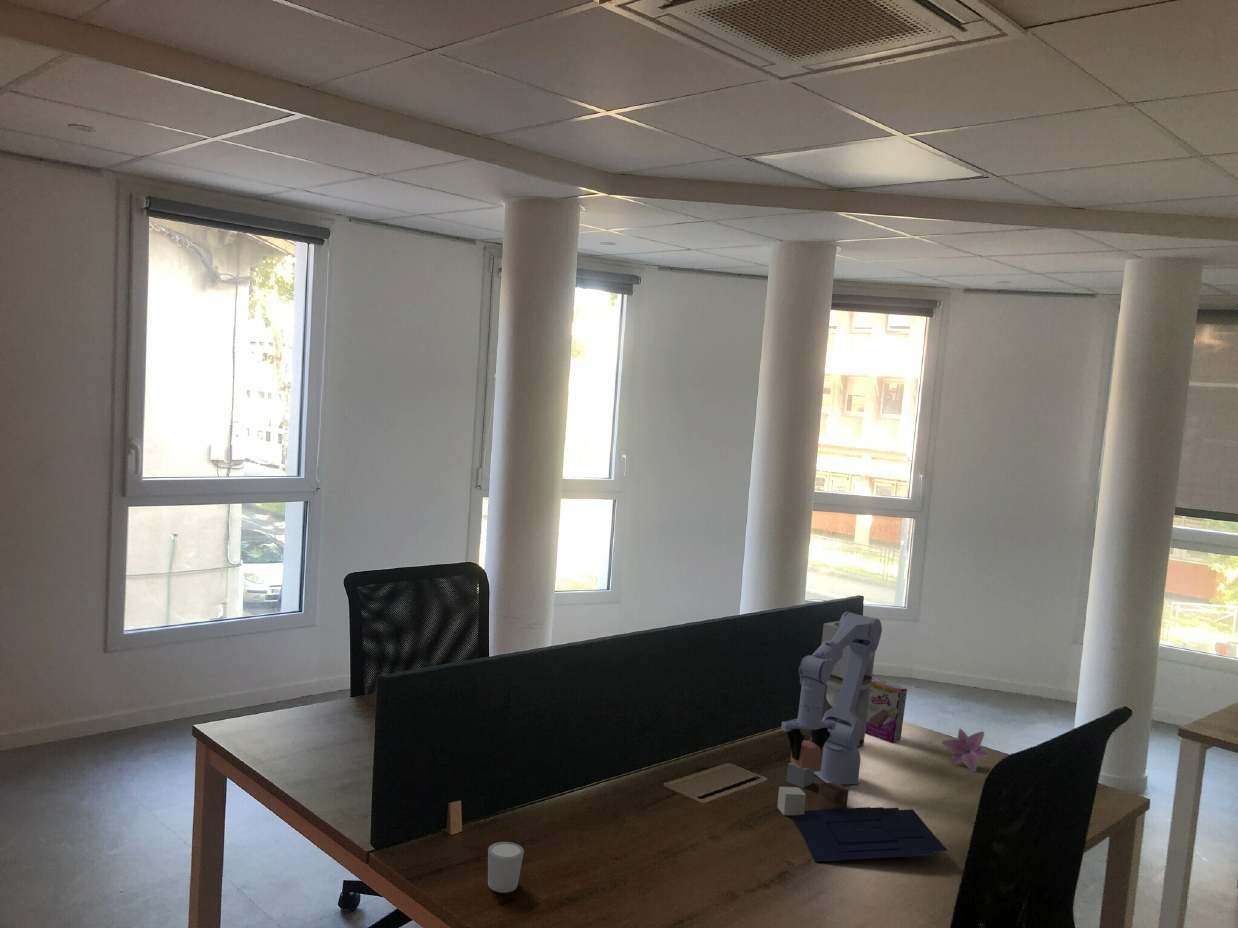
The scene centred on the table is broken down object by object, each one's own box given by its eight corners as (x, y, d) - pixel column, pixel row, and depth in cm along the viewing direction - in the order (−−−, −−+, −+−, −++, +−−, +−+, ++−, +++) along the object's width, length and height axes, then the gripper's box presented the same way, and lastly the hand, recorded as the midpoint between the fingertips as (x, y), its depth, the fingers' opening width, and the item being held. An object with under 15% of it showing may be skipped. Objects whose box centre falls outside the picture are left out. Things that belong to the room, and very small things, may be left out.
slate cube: (795, 777, 251) (798, 758, 251) (812, 783, 248) (814, 765, 248) (786, 781, 248) (788, 763, 247) (803, 788, 244) (805, 769, 244)
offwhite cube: (797, 807, 232) (798, 787, 232) (804, 815, 227) (805, 794, 227) (777, 807, 231) (779, 786, 231) (783, 814, 226) (785, 793, 226)
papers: (951, 866, 207) (951, 850, 206) (815, 874, 205) (815, 857, 204) (910, 816, 231) (910, 802, 230) (787, 822, 229) (787, 808, 228)
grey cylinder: (485, 874, 186) (489, 840, 186) (521, 876, 187) (524, 842, 186) (483, 893, 179) (487, 857, 179) (520, 895, 180) (523, 859, 179)
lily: (935, 758, 279) (937, 736, 274) (965, 741, 283) (967, 718, 278) (966, 786, 269) (969, 763, 264) (996, 768, 274) (1000, 744, 269)
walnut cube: (831, 800, 239) (833, 781, 238) (846, 808, 234) (848, 789, 234) (817, 803, 236) (819, 784, 235) (832, 812, 232) (834, 792, 231)
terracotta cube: (807, 759, 240) (809, 740, 240) (818, 767, 236) (820, 747, 235) (790, 760, 238) (792, 740, 238) (801, 768, 234) (803, 748, 233)
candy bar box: (860, 732, 292) (866, 680, 291) (868, 729, 296) (874, 677, 295) (893, 744, 285) (900, 690, 283) (901, 740, 288) (908, 687, 287)
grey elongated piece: (810, 739, 281) (823, 623, 278) (830, 733, 288) (844, 620, 286) (842, 753, 273) (857, 633, 270) (863, 746, 280) (877, 629, 277)
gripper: (826, 698, 242) (820, 750, 243) (777, 699, 237) (771, 752, 238) (842, 707, 236) (836, 761, 237) (792, 709, 230) (786, 764, 231)
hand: (804, 757), depth 237 cm, fingers closed on terracotta cube, 5 cm apart
